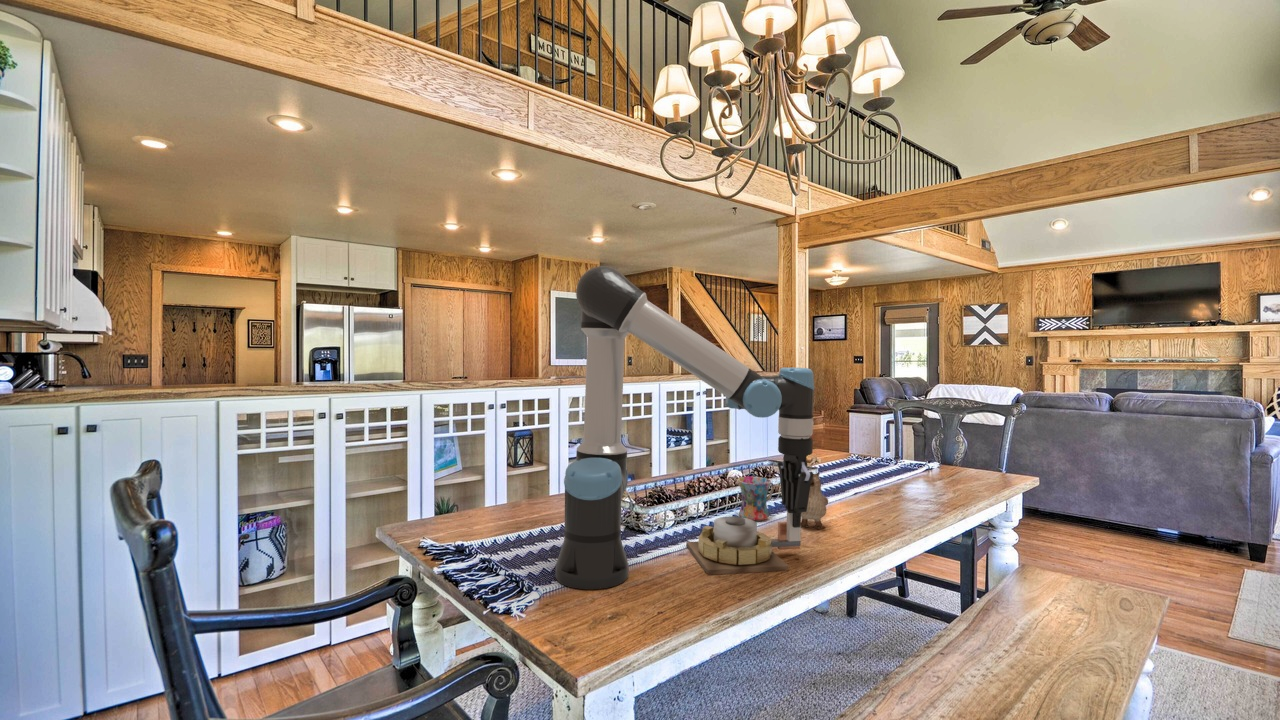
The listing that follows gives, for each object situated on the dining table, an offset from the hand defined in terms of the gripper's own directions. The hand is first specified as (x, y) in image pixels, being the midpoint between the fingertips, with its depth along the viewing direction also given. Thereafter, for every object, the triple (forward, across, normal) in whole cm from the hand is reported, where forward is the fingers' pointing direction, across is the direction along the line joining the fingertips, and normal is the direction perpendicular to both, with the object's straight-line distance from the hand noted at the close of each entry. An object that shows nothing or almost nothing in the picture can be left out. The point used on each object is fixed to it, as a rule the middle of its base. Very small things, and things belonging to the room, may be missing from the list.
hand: (793, 539), depth 135 cm
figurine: (+5, +22, -16) cm, 28 cm away
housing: (+4, +3, +13) cm, 14 cm away
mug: (+5, +33, -5) cm, 33 cm away
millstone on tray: (+3, +3, +9) cm, 10 cm away
